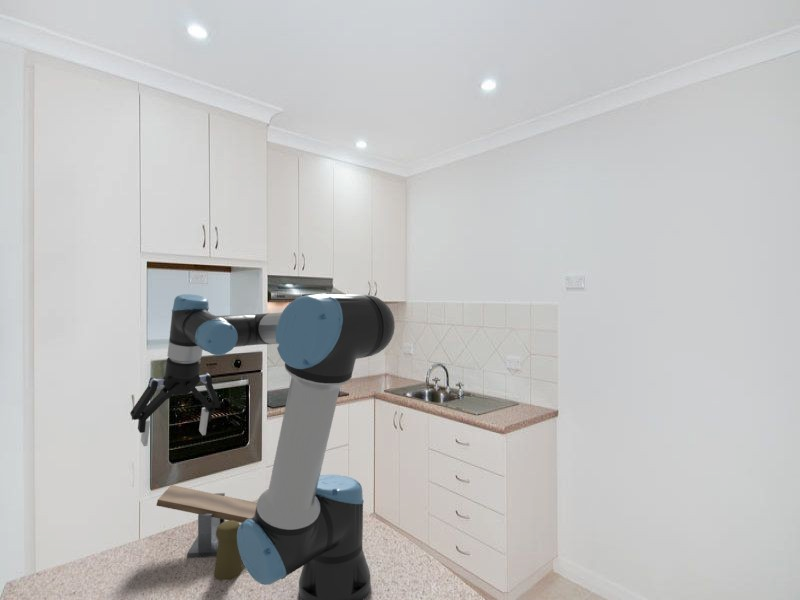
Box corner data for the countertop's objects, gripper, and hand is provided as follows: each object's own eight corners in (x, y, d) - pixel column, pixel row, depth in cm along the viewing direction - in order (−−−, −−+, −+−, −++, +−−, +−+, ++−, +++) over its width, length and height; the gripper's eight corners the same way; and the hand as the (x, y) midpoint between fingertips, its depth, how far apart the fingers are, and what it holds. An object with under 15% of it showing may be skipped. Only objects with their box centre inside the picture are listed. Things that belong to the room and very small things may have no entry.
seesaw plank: (255, 530, 108) (257, 521, 108) (154, 509, 105) (156, 500, 105) (262, 511, 117) (264, 503, 117) (169, 492, 114) (172, 483, 114)
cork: (233, 582, 96) (232, 532, 96) (208, 578, 98) (208, 528, 97) (247, 565, 102) (247, 518, 102) (224, 562, 104) (224, 515, 103)
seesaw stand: (222, 556, 106) (222, 514, 106) (187, 558, 105) (187, 516, 105) (234, 530, 117) (234, 492, 117) (203, 531, 116) (202, 494, 116)
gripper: (228, 349, 119) (218, 422, 122) (121, 355, 101) (112, 440, 105) (240, 360, 114) (229, 435, 117) (129, 368, 96) (120, 456, 100)
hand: (174, 438), depth 111 cm, fingers open, 13 cm apart
